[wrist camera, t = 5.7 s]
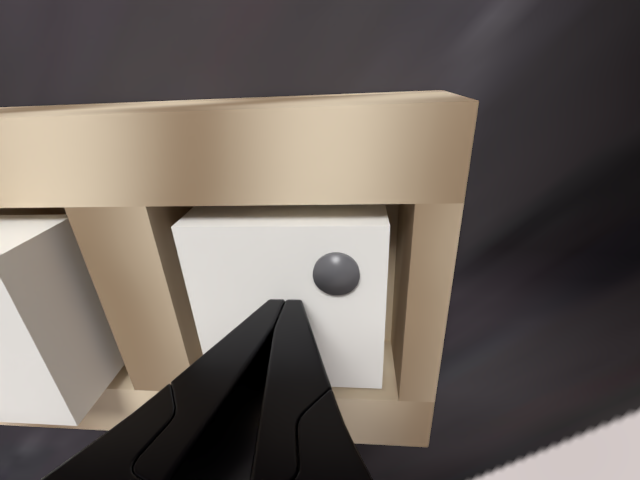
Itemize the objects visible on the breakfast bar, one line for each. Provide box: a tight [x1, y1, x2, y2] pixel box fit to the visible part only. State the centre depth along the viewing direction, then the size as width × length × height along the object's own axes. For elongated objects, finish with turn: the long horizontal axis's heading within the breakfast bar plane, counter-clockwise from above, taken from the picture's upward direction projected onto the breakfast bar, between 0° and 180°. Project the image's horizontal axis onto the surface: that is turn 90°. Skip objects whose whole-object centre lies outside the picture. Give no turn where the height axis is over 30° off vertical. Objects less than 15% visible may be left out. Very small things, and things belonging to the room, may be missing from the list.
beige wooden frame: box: [0, 90, 479, 447], centre depth 11 cm, size 24×10×3 cm, turn 92°
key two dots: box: [171, 204, 390, 389], centre depth 10 cm, size 5×5×2 cm
